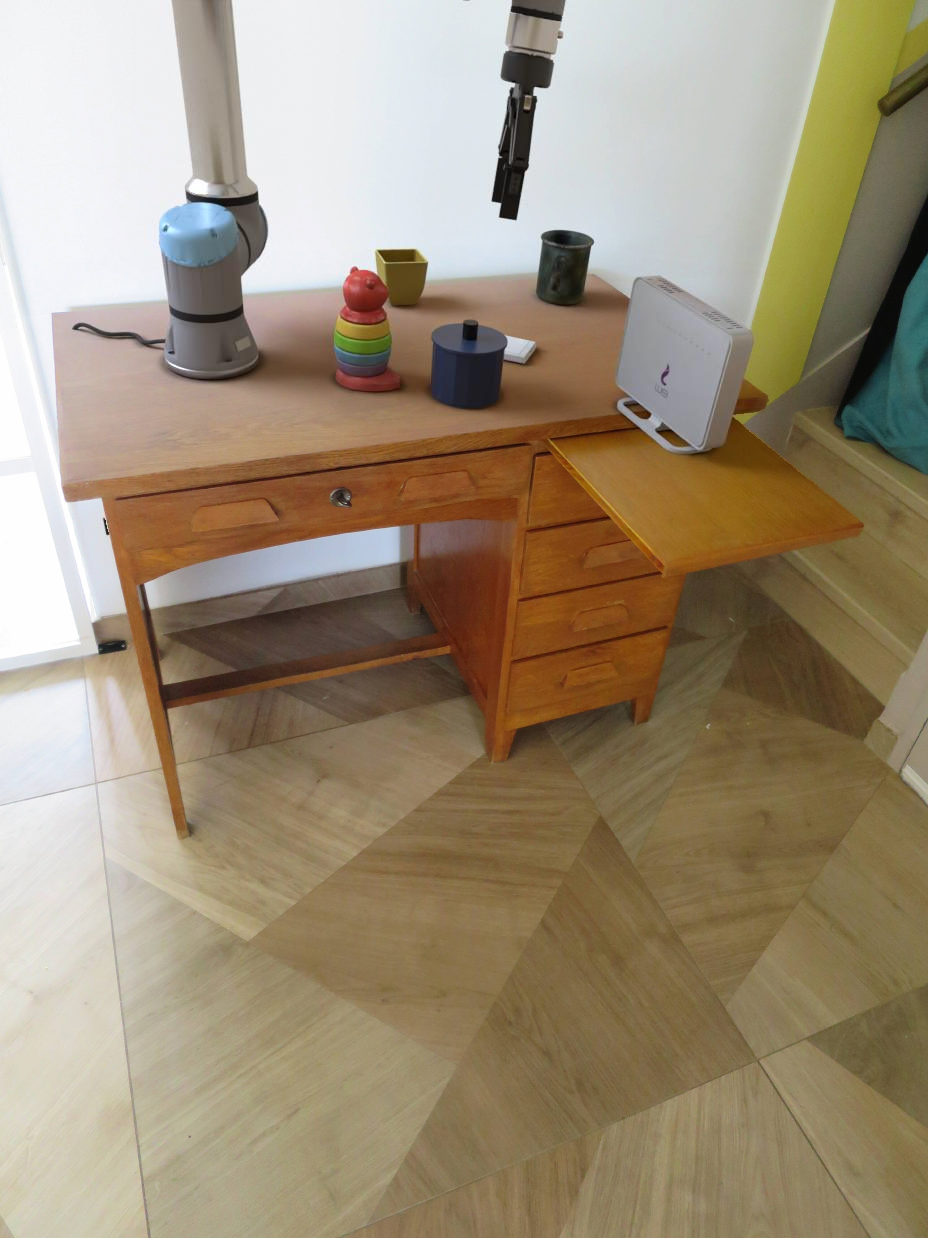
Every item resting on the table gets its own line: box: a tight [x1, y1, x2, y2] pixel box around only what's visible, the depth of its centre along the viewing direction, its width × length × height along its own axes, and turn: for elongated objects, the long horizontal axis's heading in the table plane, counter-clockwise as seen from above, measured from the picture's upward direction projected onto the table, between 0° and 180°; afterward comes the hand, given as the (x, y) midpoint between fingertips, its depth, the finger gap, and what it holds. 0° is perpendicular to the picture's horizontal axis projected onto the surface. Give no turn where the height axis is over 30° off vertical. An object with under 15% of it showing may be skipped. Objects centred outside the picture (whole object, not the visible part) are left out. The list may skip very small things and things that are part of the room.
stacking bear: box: [333, 265, 403, 392], centre depth 141 cm, size 11×10×18 cm
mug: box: [535, 229, 595, 306], centre depth 180 cm, size 11×15×12 cm
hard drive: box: [504, 334, 537, 364], centre depth 160 cm, size 2×8×12 cm
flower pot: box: [374, 248, 429, 306], centre depth 174 cm, size 9×9×9 cm
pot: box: [429, 342, 505, 410], centre depth 143 cm, size 11×11×9 cm
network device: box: [614, 274, 755, 455], centre depth 136 cm, size 26×9×20 cm, turn 24°
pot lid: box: [430, 318, 508, 356], centre depth 139 cm, size 12×12×4 cm
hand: (503, 210), depth 139 cm, fingers open, 13 cm apart
